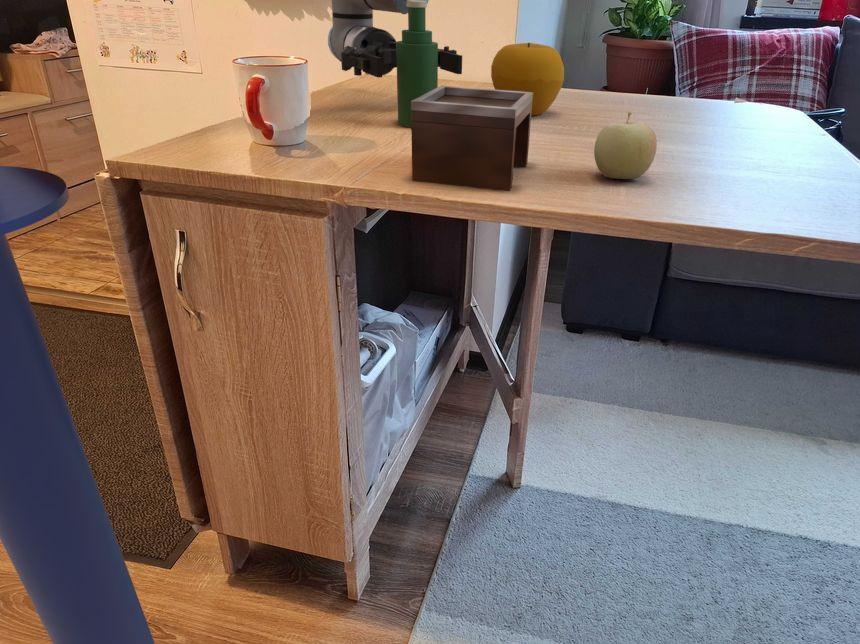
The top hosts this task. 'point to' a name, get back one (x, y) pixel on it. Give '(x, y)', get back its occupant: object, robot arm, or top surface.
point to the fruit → (625, 149)
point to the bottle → (415, 61)
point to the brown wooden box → (470, 136)
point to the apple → (529, 72)
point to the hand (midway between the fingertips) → (421, 66)
